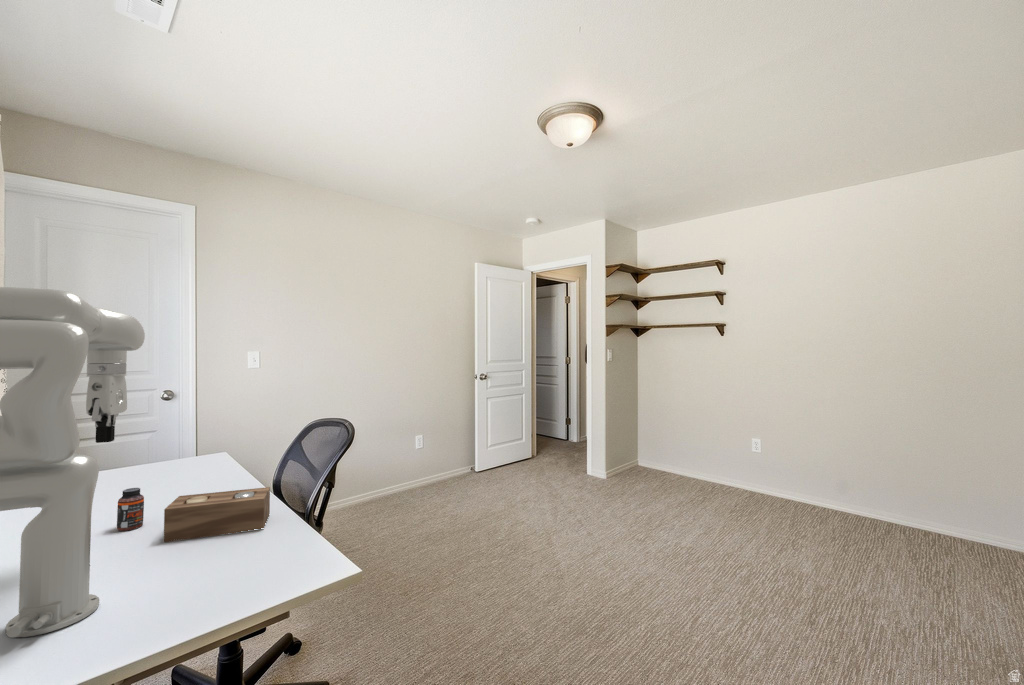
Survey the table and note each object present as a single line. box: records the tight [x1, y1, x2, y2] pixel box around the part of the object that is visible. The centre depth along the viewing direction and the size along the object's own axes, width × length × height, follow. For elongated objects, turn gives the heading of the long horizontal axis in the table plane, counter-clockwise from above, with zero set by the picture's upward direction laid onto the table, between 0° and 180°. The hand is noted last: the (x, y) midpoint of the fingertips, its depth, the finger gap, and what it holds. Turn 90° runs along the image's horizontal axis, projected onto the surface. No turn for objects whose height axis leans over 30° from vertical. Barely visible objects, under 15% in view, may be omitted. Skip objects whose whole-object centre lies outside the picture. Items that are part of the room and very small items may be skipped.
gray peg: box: [235, 492, 254, 498], centre depth 132 cm, size 5×5×9 cm
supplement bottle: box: [116, 487, 145, 532], centre depth 129 cm, size 6×6×11 cm
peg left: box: [186, 496, 208, 504], centre depth 127 cm, size 5×5×9 cm
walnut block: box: [163, 486, 271, 543], centre depth 129 cm, size 12×24×9 cm, turn 112°
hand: (105, 441), depth 112 cm, fingers closed
